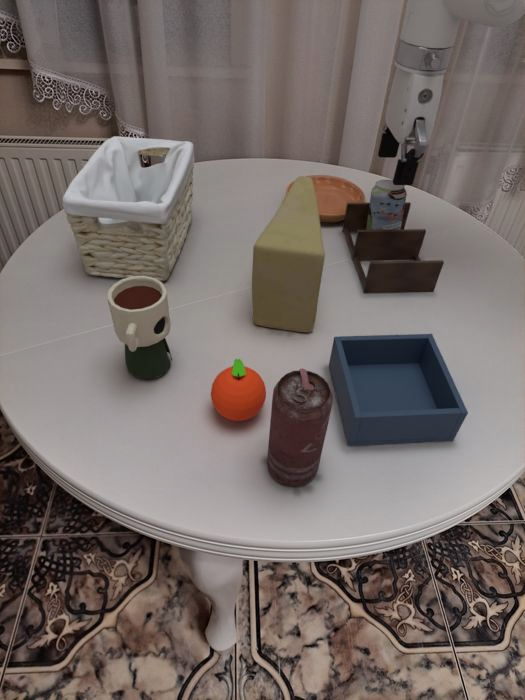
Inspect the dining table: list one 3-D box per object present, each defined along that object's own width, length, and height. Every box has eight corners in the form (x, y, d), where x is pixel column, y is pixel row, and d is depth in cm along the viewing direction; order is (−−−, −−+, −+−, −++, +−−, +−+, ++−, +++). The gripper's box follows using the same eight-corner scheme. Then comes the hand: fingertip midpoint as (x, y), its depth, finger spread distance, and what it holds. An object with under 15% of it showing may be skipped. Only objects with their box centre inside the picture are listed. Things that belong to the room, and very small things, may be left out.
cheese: (272, 246, 93) (277, 167, 82) (325, 253, 92) (337, 174, 82) (249, 326, 78) (252, 242, 67) (312, 335, 77) (325, 252, 66)
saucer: (368, 229, 98) (371, 215, 96) (285, 226, 98) (287, 212, 96) (357, 189, 110) (360, 176, 108) (284, 186, 109) (285, 173, 107)
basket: (119, 207, 101) (106, 132, 90) (201, 214, 100) (197, 139, 89) (77, 280, 84) (55, 198, 73) (175, 289, 83) (166, 208, 73)
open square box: (420, 362, 74) (431, 333, 69) (453, 441, 64) (468, 412, 60) (328, 365, 72) (334, 336, 68) (347, 446, 63) (355, 417, 59)
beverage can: (375, 259, 92) (389, 198, 83) (353, 237, 96) (365, 178, 88) (404, 252, 94) (420, 191, 85) (381, 231, 98) (395, 172, 90)
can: (310, 439, 63) (324, 362, 53) (323, 484, 59) (341, 409, 49) (262, 445, 62) (268, 368, 53) (272, 491, 58) (280, 417, 48)
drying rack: (402, 230, 99) (410, 202, 95) (433, 291, 85) (444, 262, 81) (342, 230, 98) (346, 202, 94) (363, 293, 84) (370, 263, 80)
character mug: (167, 397, 67) (157, 324, 58) (114, 393, 67) (95, 320, 58) (181, 340, 75) (174, 268, 66) (133, 336, 75) (119, 264, 66)
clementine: (211, 384, 69) (209, 347, 64) (262, 383, 70) (264, 346, 65) (211, 433, 63) (209, 396, 58) (267, 431, 64) (269, 394, 59)
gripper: (470, 77, 67) (432, 196, 79) (429, 39, 79) (401, 147, 91) (415, 75, 66) (385, 196, 78) (382, 37, 78) (360, 147, 90)
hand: (394, 170), depth 85 cm, fingers open, 9 cm apart
